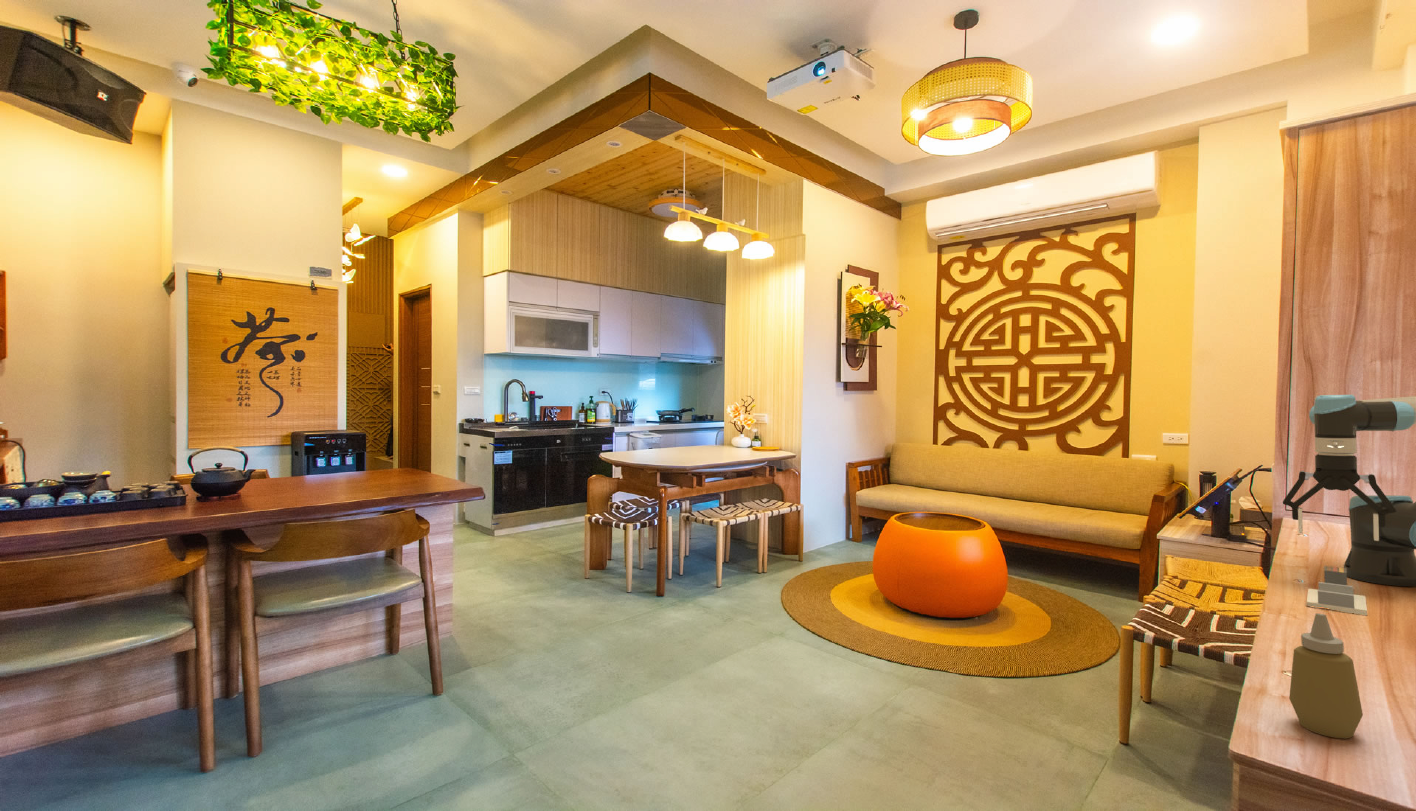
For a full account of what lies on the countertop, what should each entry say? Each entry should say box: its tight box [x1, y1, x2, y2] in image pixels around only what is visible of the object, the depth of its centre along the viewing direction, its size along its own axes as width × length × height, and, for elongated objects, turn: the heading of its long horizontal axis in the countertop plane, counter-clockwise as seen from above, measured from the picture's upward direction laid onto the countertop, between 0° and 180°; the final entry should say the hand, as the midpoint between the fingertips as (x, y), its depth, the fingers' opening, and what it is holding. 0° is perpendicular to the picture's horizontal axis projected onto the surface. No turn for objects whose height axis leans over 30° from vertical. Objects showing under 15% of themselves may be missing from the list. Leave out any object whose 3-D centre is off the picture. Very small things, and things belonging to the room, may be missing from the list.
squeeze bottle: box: [1289, 613, 1364, 739], centre depth 95 cm, size 8×8×18 cm
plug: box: [1323, 565, 1348, 585], centre depth 158 cm, size 6×4×6 cm, turn 134°
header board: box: [1306, 581, 1368, 616], centre depth 149 cm, size 14×10×4 cm
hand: (1337, 536), depth 157 cm, fingers open, 13 cm apart
